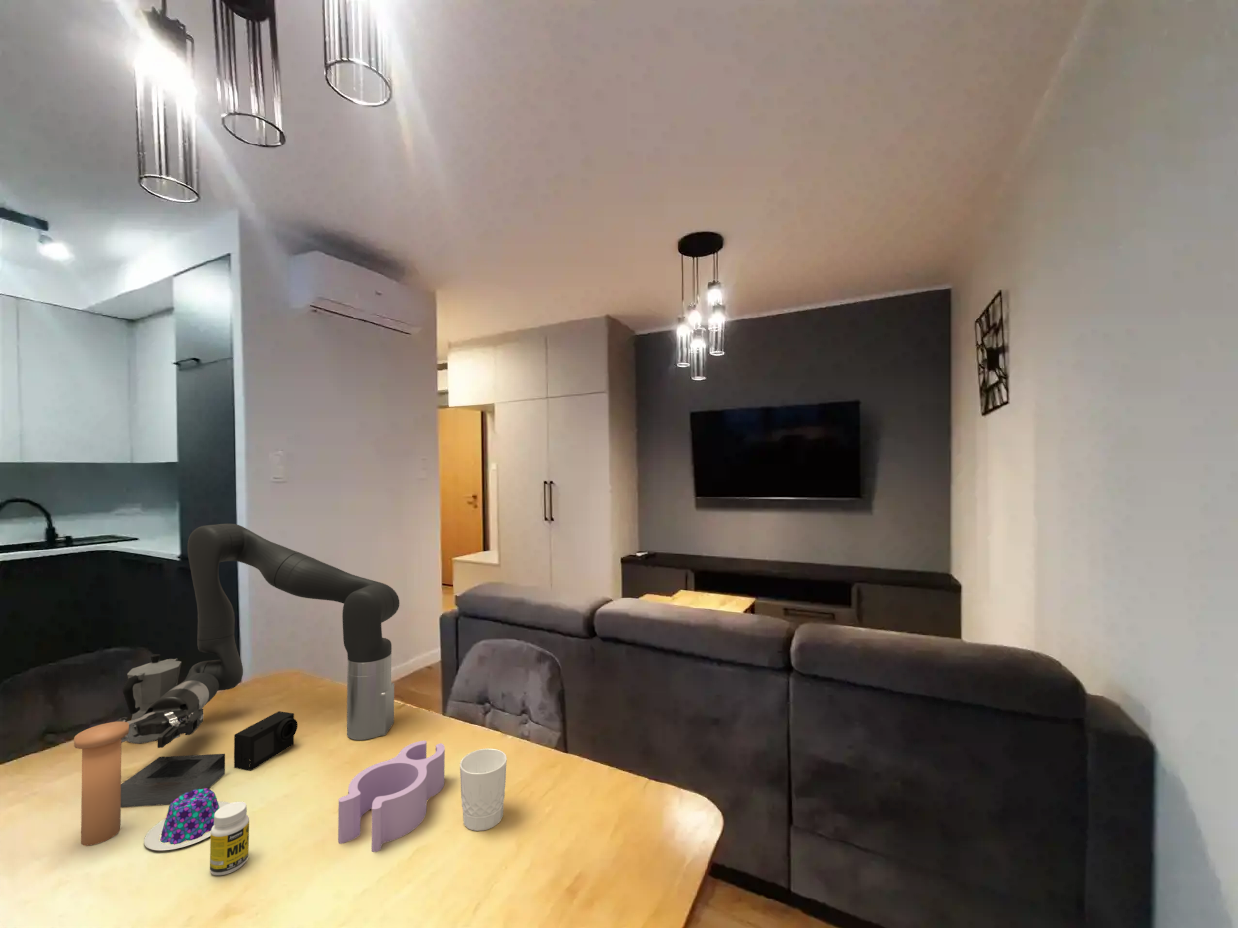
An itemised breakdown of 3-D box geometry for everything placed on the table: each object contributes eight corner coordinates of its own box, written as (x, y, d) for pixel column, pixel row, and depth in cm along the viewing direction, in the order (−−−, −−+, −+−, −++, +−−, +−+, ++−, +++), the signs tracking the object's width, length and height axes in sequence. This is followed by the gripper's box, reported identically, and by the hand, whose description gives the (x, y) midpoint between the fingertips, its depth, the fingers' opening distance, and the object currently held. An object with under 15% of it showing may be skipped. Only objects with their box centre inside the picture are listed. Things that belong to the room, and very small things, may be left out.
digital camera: (255, 772, 103) (255, 737, 103) (233, 768, 104) (233, 733, 104) (298, 745, 113) (299, 713, 113) (278, 742, 114) (278, 710, 114)
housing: (224, 773, 102) (225, 753, 102) (192, 803, 93) (192, 780, 93) (159, 777, 101) (159, 756, 101) (119, 807, 92) (120, 784, 92)
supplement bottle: (227, 879, 76) (228, 821, 76) (201, 873, 77) (202, 817, 77) (256, 855, 81) (256, 801, 81) (231, 850, 82) (232, 797, 82)
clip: (406, 771, 104) (406, 737, 104) (460, 782, 100) (461, 746, 100) (324, 840, 84) (325, 798, 84) (388, 856, 81) (389, 812, 81)
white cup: (514, 808, 92) (515, 752, 92) (489, 838, 85) (490, 777, 85) (477, 799, 95) (477, 744, 95) (449, 827, 87) (450, 768, 88)
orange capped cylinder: (138, 820, 89) (139, 720, 89) (105, 848, 82) (106, 740, 82) (97, 823, 88) (98, 722, 88) (60, 851, 82) (62, 742, 82)
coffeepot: (152, 720, 123) (153, 645, 124) (196, 718, 125) (197, 643, 125) (98, 756, 108) (99, 670, 108) (149, 752, 110) (150, 668, 110)
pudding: (167, 813, 91) (167, 783, 91) (246, 799, 95) (247, 771, 95) (126, 862, 80) (127, 828, 80) (219, 845, 84) (219, 812, 84)
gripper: (137, 691, 106) (81, 730, 90) (219, 683, 110) (179, 719, 94) (137, 728, 106) (80, 773, 90) (219, 719, 110) (178, 760, 94)
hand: (131, 746), depth 92 cm, fingers open, 8 cm apart
